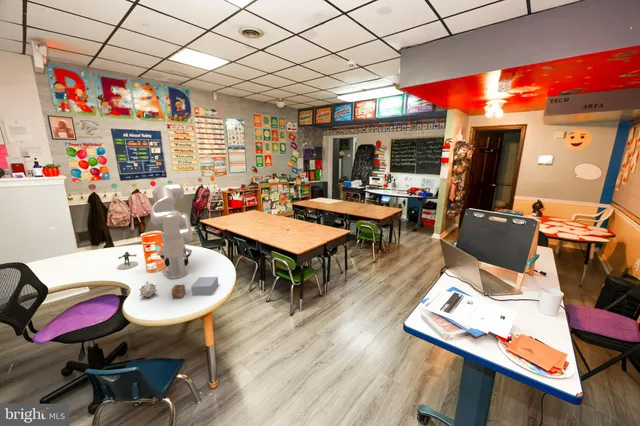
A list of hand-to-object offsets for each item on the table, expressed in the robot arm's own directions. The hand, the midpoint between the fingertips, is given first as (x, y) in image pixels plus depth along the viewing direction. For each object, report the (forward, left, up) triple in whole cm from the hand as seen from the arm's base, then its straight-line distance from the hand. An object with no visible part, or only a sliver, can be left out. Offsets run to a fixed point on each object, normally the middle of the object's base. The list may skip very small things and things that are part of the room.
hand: (177, 265), depth 139 cm
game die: (-18, +1, -19) cm, 26 cm away
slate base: (+12, +4, -19) cm, 23 cm away
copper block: (-1, -1, -19) cm, 19 cm away
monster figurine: (-54, +44, -19) cm, 72 cm away
